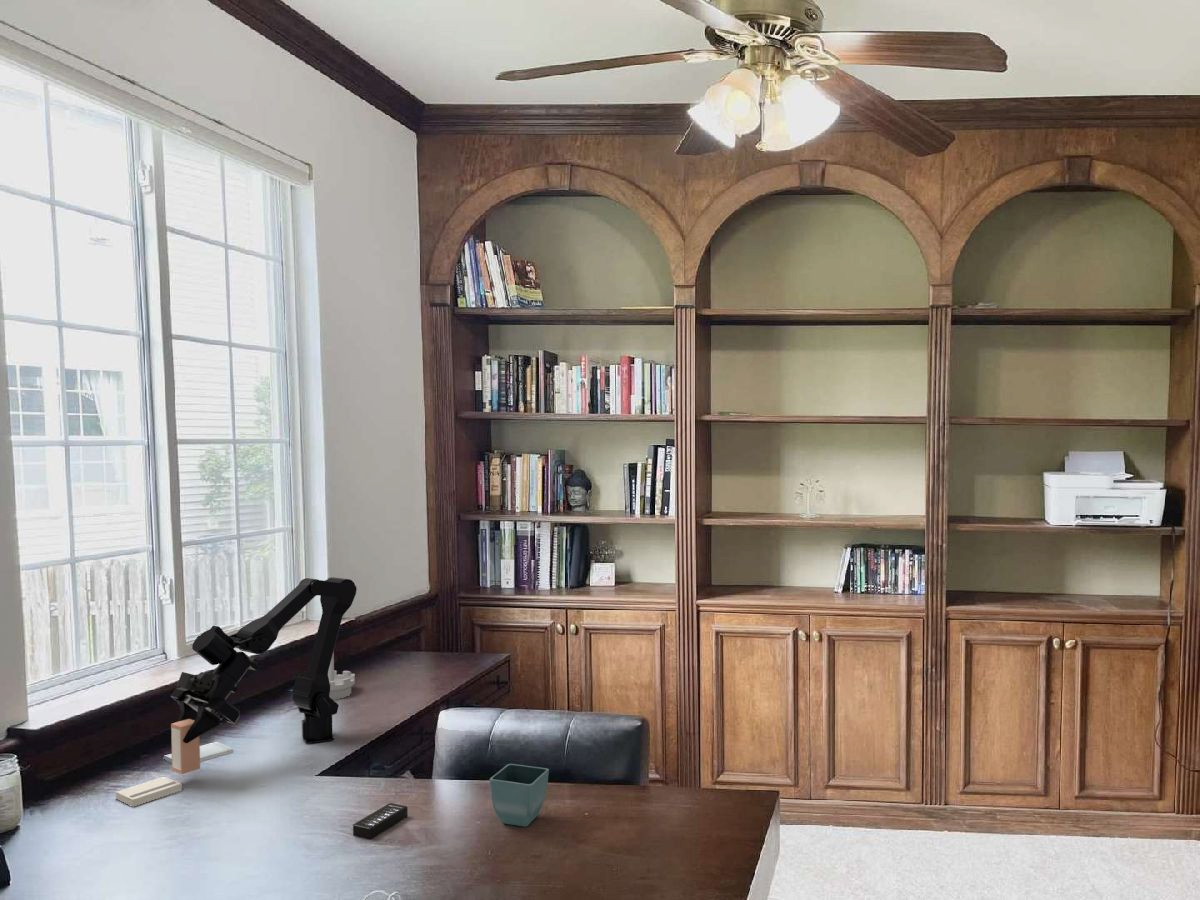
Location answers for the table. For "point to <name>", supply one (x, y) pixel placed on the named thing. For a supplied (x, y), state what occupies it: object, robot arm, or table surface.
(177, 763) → the stub
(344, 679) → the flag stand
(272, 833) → the table surface
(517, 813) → the flower pot
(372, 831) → the multiport hub
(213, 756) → the hard drive
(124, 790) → the striped cream block
